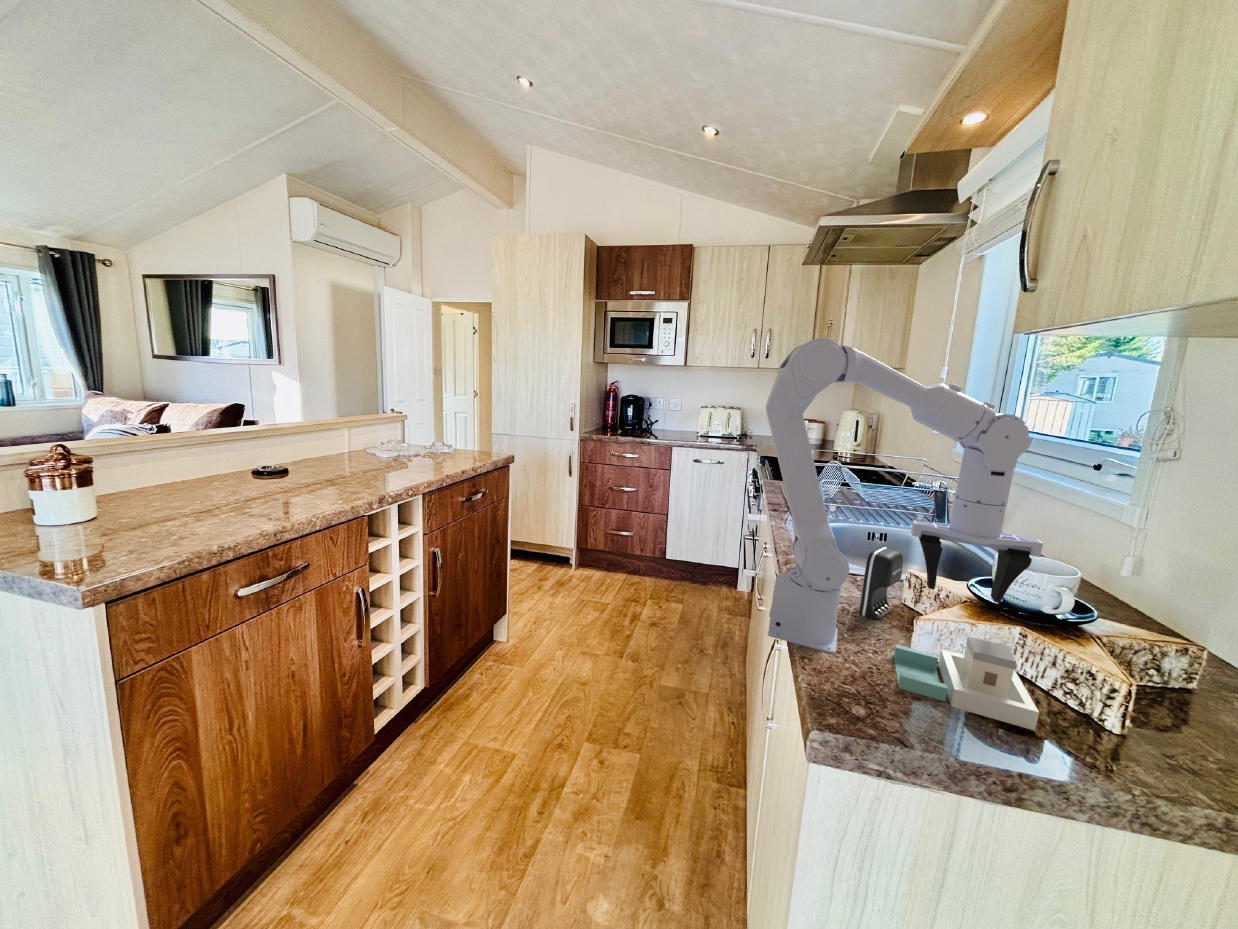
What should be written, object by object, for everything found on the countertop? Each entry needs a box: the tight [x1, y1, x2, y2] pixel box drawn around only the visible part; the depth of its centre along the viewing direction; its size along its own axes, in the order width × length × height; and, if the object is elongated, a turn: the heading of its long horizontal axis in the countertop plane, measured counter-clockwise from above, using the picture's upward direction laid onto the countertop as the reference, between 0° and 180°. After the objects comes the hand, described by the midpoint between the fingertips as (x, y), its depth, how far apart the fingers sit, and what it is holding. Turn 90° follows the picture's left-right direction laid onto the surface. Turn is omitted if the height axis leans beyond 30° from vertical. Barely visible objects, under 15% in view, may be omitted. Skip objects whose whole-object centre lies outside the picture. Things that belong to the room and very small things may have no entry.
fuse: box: [960, 636, 1017, 699], centre depth 60 cm, size 4×4×6 cm
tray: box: [937, 649, 1040, 731], centre depth 60 cm, size 8×10×3 cm
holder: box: [893, 644, 948, 702], centre depth 63 cm, size 8×5×2 cm, turn 154°
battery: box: [858, 546, 904, 621], centre depth 80 cm, size 7×4×11 cm, turn 131°
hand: (962, 593), depth 67 cm, fingers open, 7 cm apart
